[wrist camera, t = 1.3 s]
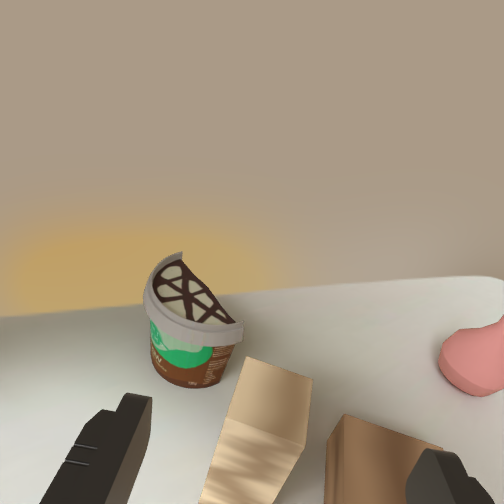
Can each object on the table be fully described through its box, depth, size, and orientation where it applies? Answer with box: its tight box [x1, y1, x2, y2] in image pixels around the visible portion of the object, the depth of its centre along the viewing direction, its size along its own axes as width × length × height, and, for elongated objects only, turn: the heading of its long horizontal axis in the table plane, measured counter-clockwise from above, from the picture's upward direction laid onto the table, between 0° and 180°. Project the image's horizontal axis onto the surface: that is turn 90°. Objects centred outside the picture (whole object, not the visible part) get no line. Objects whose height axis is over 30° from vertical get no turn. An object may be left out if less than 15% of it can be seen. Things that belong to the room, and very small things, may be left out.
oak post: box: [198, 356, 313, 504], centre depth 27 cm, size 5×5×12 cm
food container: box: [143, 252, 244, 388], centre depth 36 cm, size 12×6×10 cm, turn 38°
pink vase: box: [438, 315, 504, 397], centre depth 42 cm, size 8×8×12 cm
